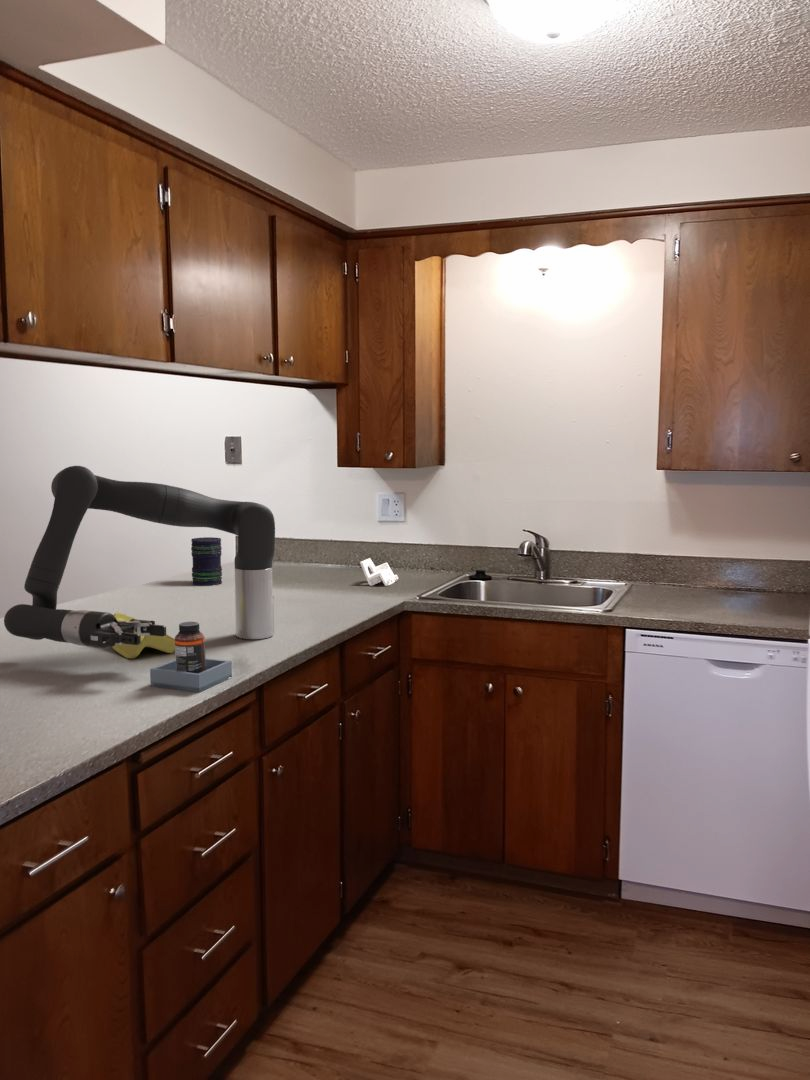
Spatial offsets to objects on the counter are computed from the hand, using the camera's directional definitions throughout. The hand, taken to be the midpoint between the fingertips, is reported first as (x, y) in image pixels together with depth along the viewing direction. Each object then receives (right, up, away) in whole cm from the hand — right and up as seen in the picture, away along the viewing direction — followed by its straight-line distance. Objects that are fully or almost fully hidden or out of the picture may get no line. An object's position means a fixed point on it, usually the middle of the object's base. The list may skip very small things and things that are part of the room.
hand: (152, 635), depth 188 cm
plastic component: (-10, -6, +26) cm, 28 cm away
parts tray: (+9, -9, -2) cm, 13 cm away
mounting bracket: (+44, +5, +117) cm, 125 cm away
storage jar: (-14, +5, +116) cm, 117 cm away
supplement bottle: (+9, -9, -2) cm, 12 cm away
